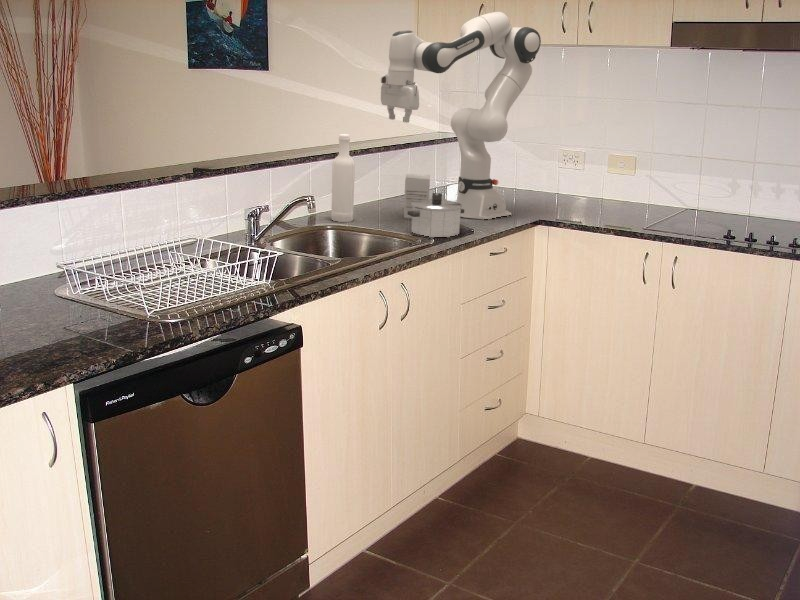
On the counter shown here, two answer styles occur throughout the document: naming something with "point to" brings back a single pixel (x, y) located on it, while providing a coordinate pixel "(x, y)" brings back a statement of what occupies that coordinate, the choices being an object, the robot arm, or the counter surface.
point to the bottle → (343, 183)
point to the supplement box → (415, 190)
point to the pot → (435, 222)
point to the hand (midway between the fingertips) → (398, 120)
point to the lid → (436, 204)
